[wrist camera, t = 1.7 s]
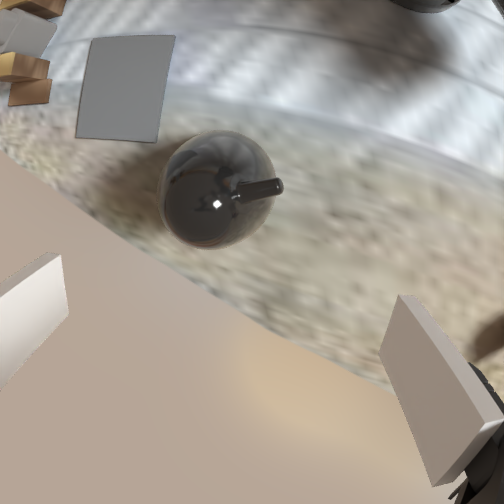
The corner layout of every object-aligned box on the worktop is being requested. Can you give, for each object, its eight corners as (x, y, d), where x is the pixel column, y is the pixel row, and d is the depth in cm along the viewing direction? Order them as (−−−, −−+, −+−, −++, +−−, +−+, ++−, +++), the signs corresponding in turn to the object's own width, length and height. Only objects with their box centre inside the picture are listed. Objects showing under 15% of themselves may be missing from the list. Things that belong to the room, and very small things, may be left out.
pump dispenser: (288, 214, 34) (304, 269, 19) (194, 238, 35) (149, 305, 21) (262, 119, 31) (260, 100, 16) (166, 148, 32) (96, 158, 18)
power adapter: (25, 55, 28) (-38, 43, 16) (46, 19, 26) (-13, -3, 15) (37, 62, 28) (-28, 50, 17) (59, 25, 27) (-1, 2, 15)
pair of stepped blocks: (39, -11, 24) (7, -26, 17) (79, -21, 24) (48, -42, 17) (11, 105, 30) (-28, 105, 23) (48, 102, 30) (8, 100, 23)
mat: (95, 39, 28) (93, 38, 27) (175, 36, 28) (174, 35, 27) (78, 137, 32) (76, 137, 31) (156, 142, 32) (154, 142, 31)
